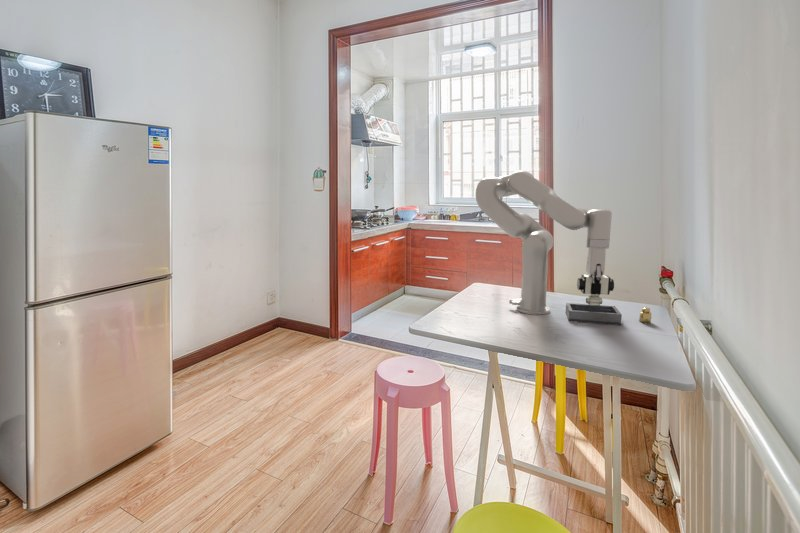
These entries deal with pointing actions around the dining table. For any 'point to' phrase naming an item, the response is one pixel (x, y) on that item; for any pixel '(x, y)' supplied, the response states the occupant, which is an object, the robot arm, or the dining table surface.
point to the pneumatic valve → (585, 288)
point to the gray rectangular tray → (593, 314)
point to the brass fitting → (645, 315)
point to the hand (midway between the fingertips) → (594, 291)
